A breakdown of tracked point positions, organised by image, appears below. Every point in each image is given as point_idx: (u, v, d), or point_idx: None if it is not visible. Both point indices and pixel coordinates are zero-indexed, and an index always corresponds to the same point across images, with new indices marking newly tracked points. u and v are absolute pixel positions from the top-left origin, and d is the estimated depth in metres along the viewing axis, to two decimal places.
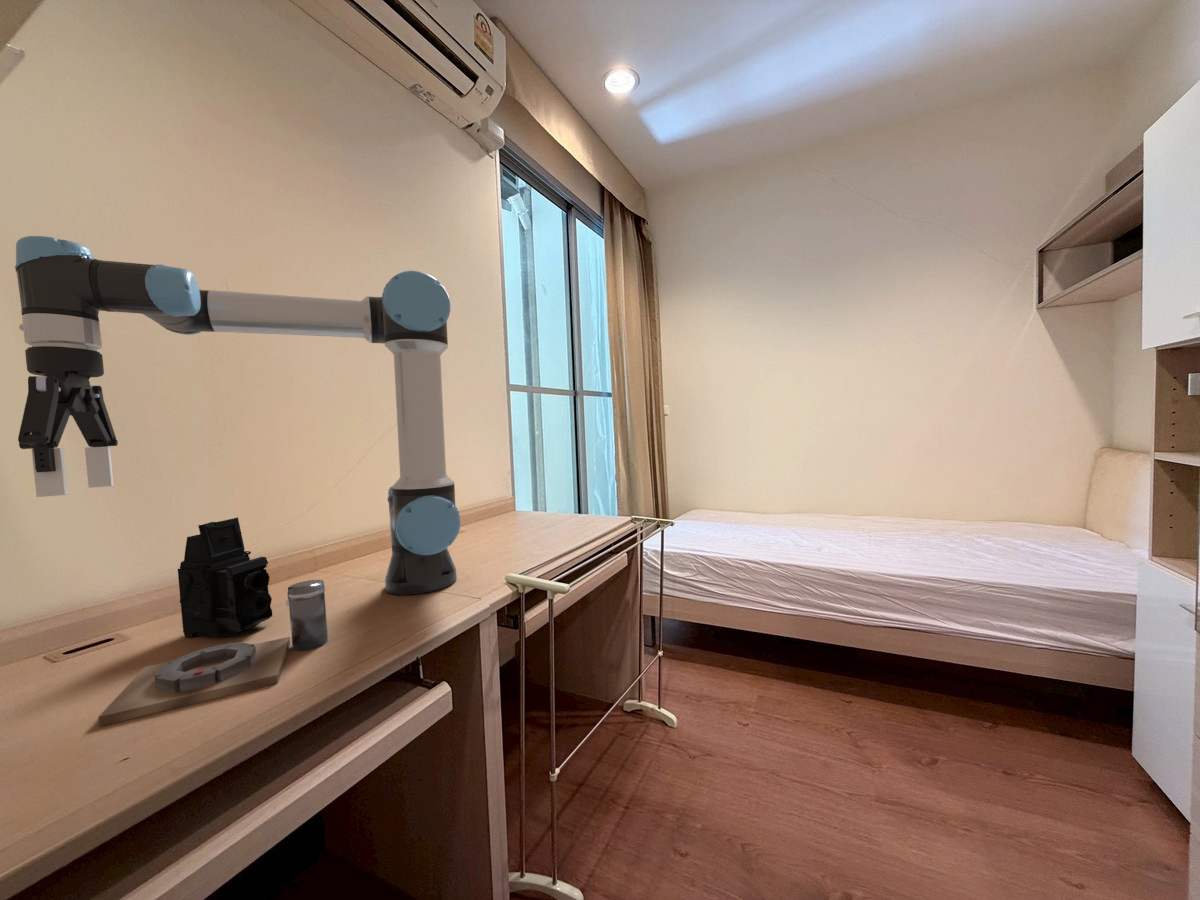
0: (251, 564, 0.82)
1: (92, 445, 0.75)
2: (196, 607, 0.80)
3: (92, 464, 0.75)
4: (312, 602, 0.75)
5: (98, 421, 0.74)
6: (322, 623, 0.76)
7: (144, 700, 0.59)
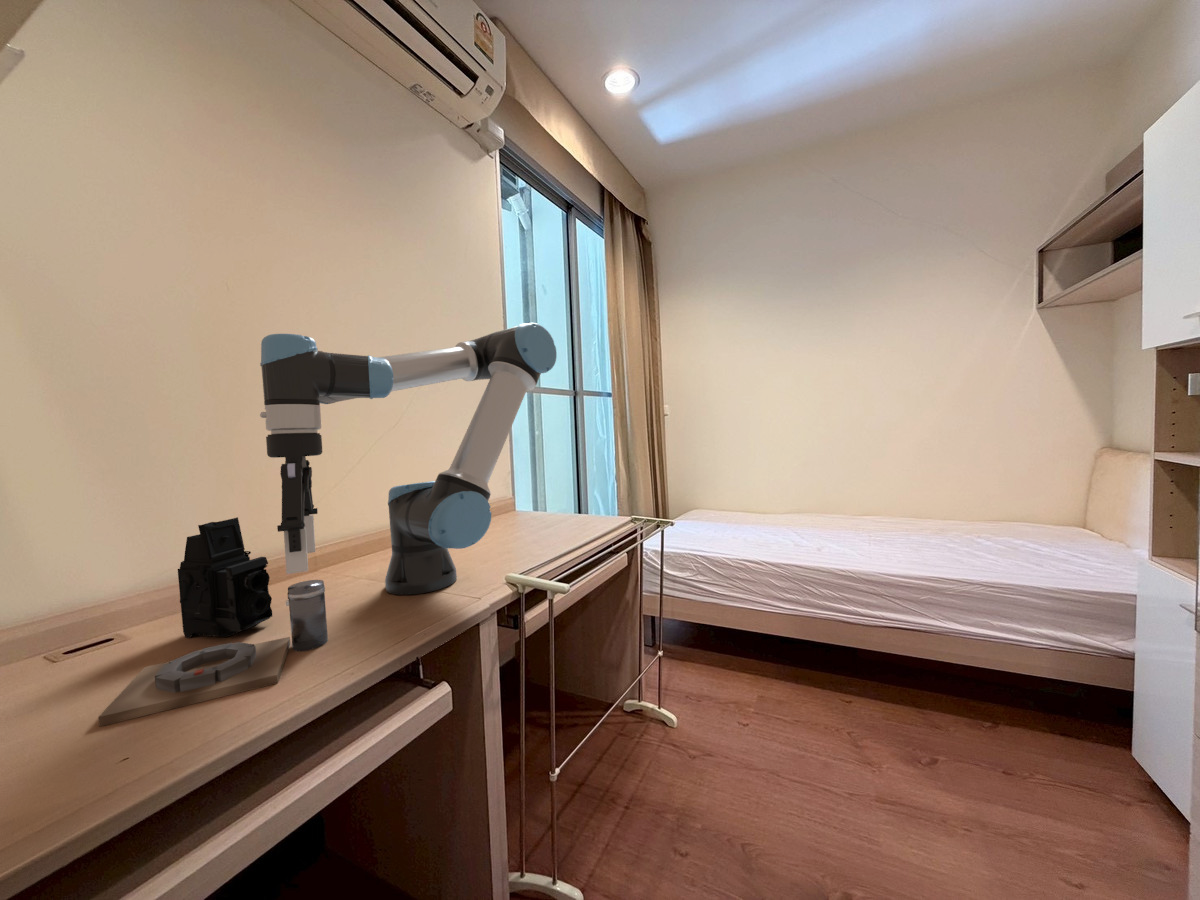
0: (251, 564, 0.82)
1: None
2: (196, 607, 0.80)
3: None
4: (312, 602, 0.75)
5: (309, 494, 0.80)
6: (322, 623, 0.76)
7: (144, 700, 0.59)
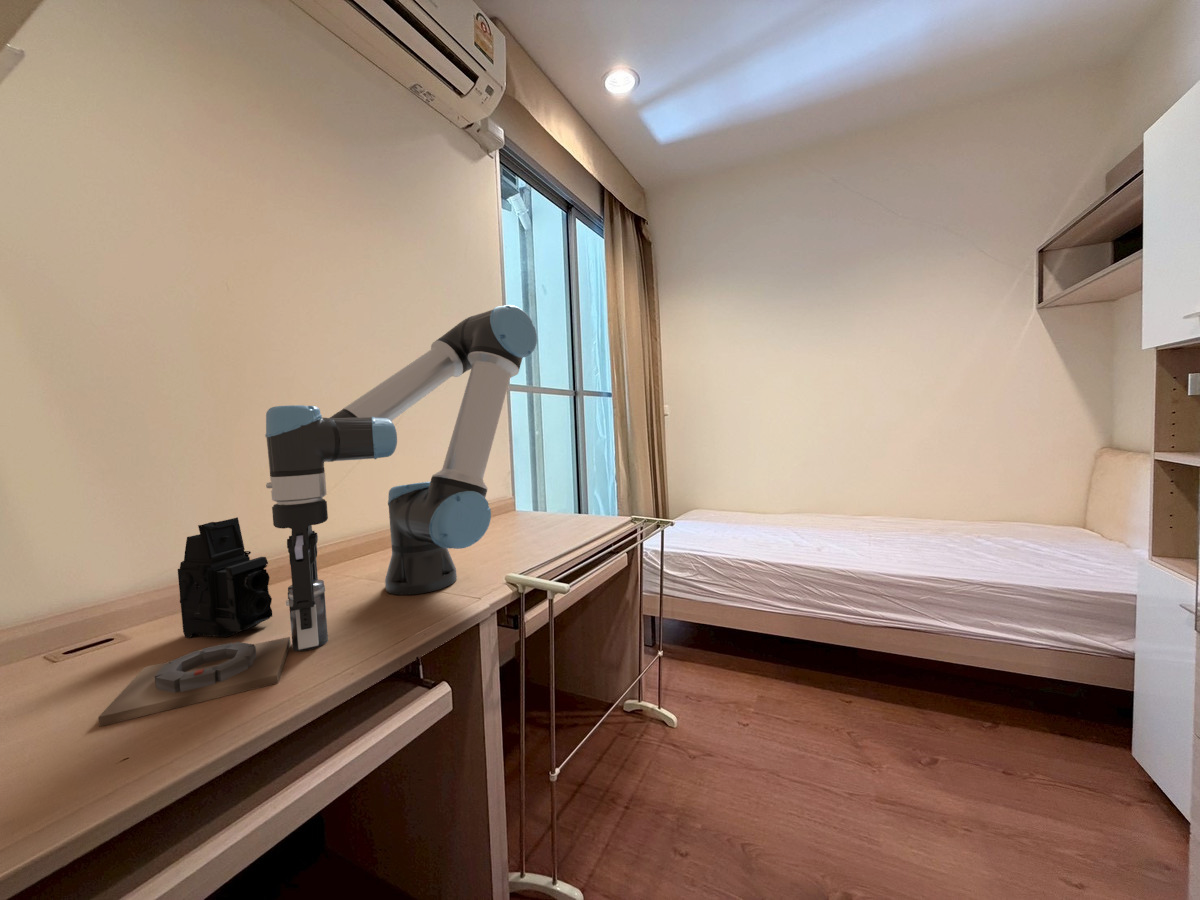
0: (251, 564, 0.82)
1: None
2: (196, 607, 0.80)
3: None
4: None
5: (314, 566, 0.79)
6: (322, 622, 0.76)
7: (144, 700, 0.59)
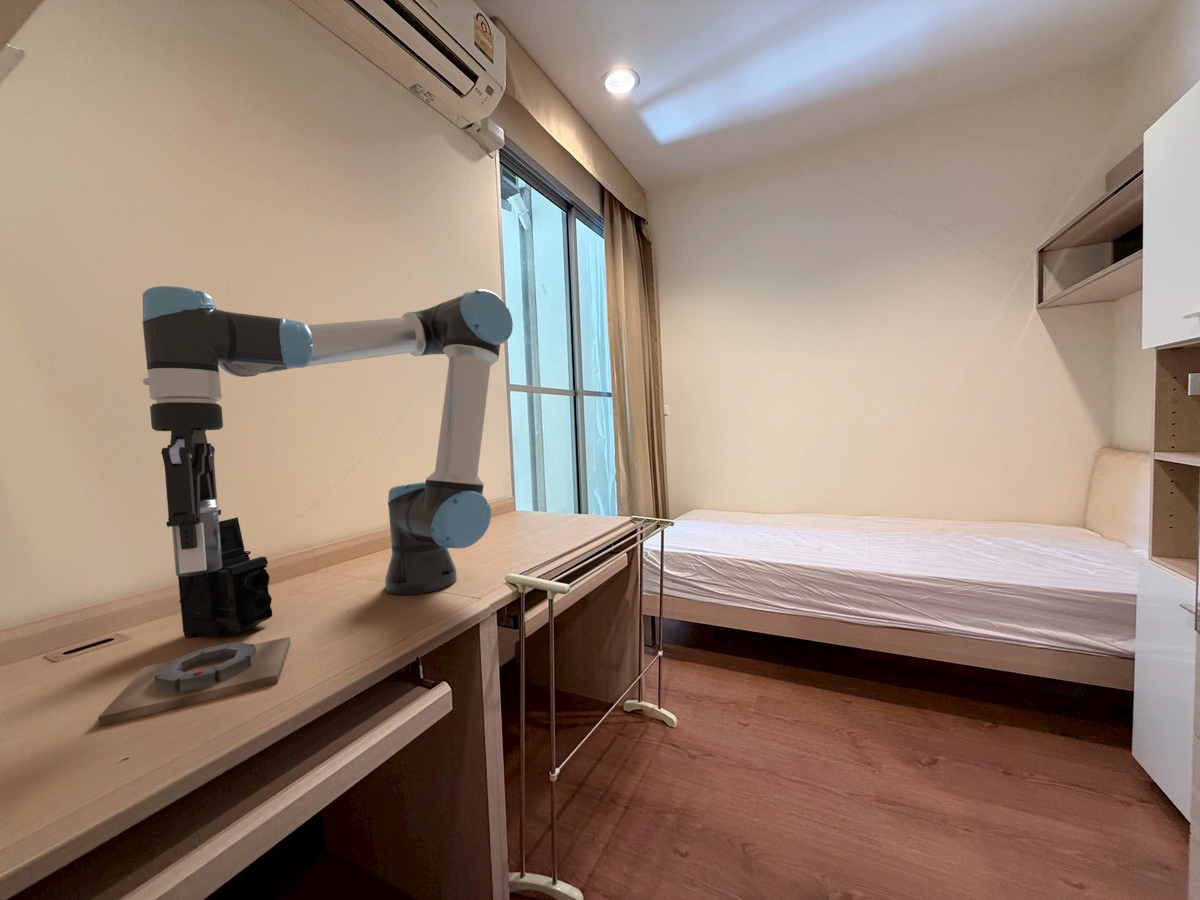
0: (251, 564, 0.82)
1: None
2: (196, 607, 0.80)
3: None
4: None
5: (208, 483, 0.68)
6: (213, 545, 0.65)
7: (144, 700, 0.59)
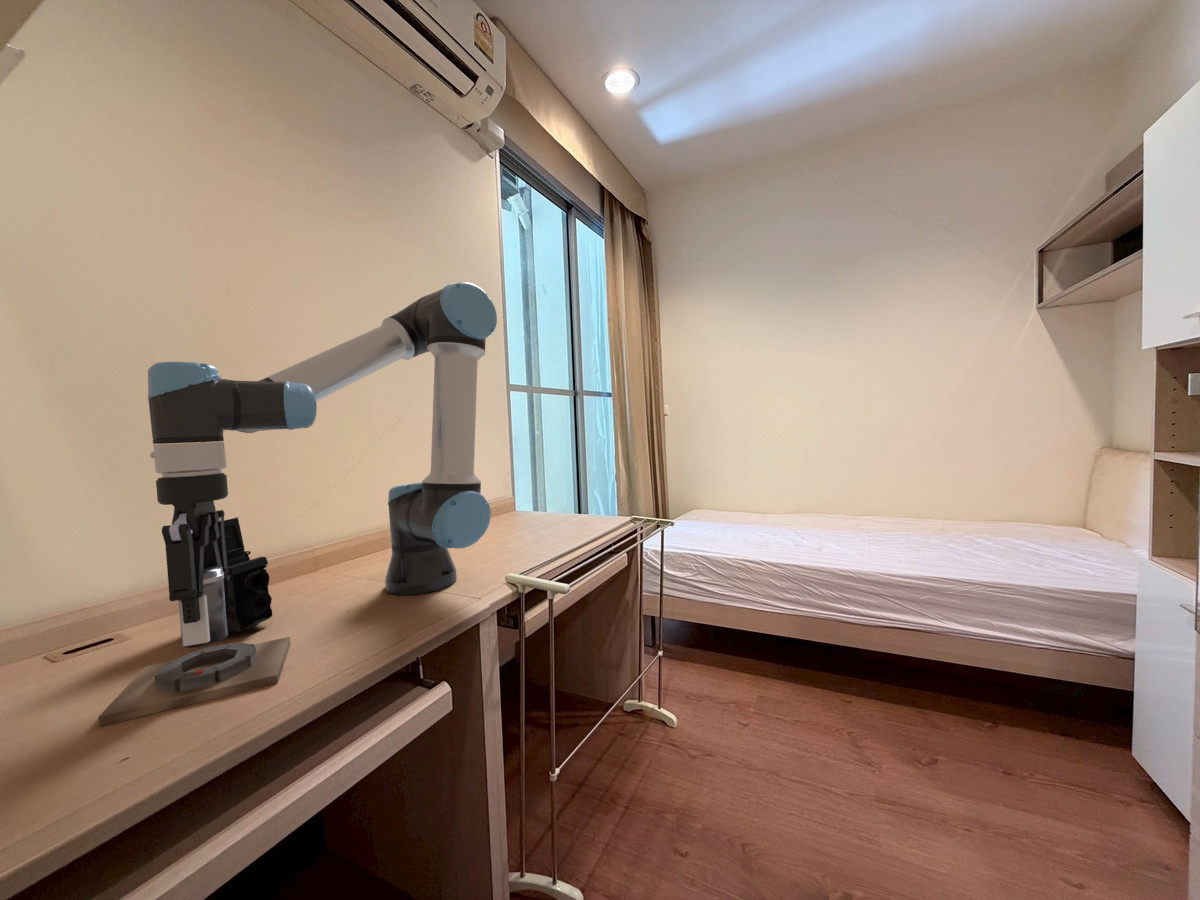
0: (251, 564, 0.82)
1: None
2: None
3: None
4: None
5: (216, 550, 0.68)
6: (217, 616, 0.66)
7: (144, 700, 0.59)
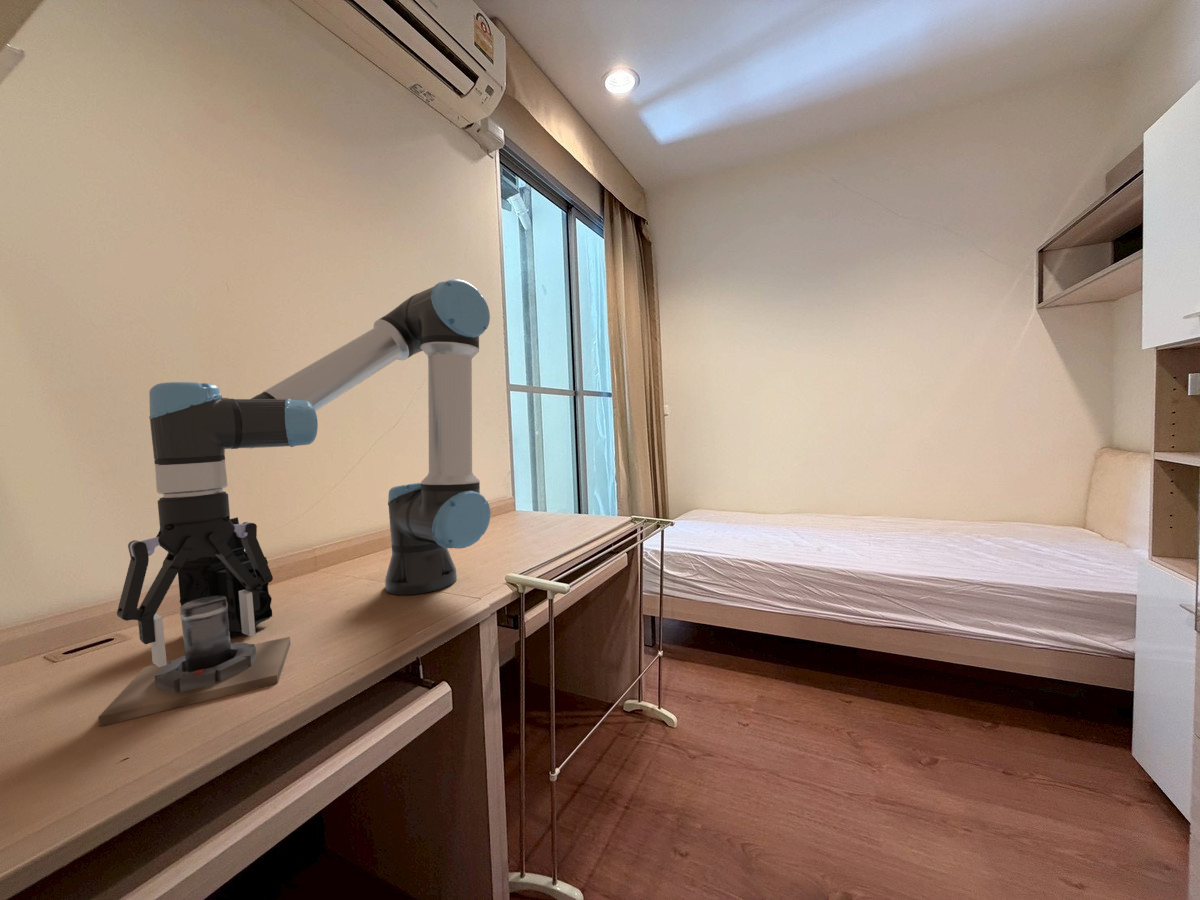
0: None
1: (245, 587, 0.71)
2: None
3: (242, 609, 0.71)
4: (187, 626, 0.64)
5: (234, 565, 0.68)
6: (201, 653, 0.64)
7: (144, 700, 0.59)
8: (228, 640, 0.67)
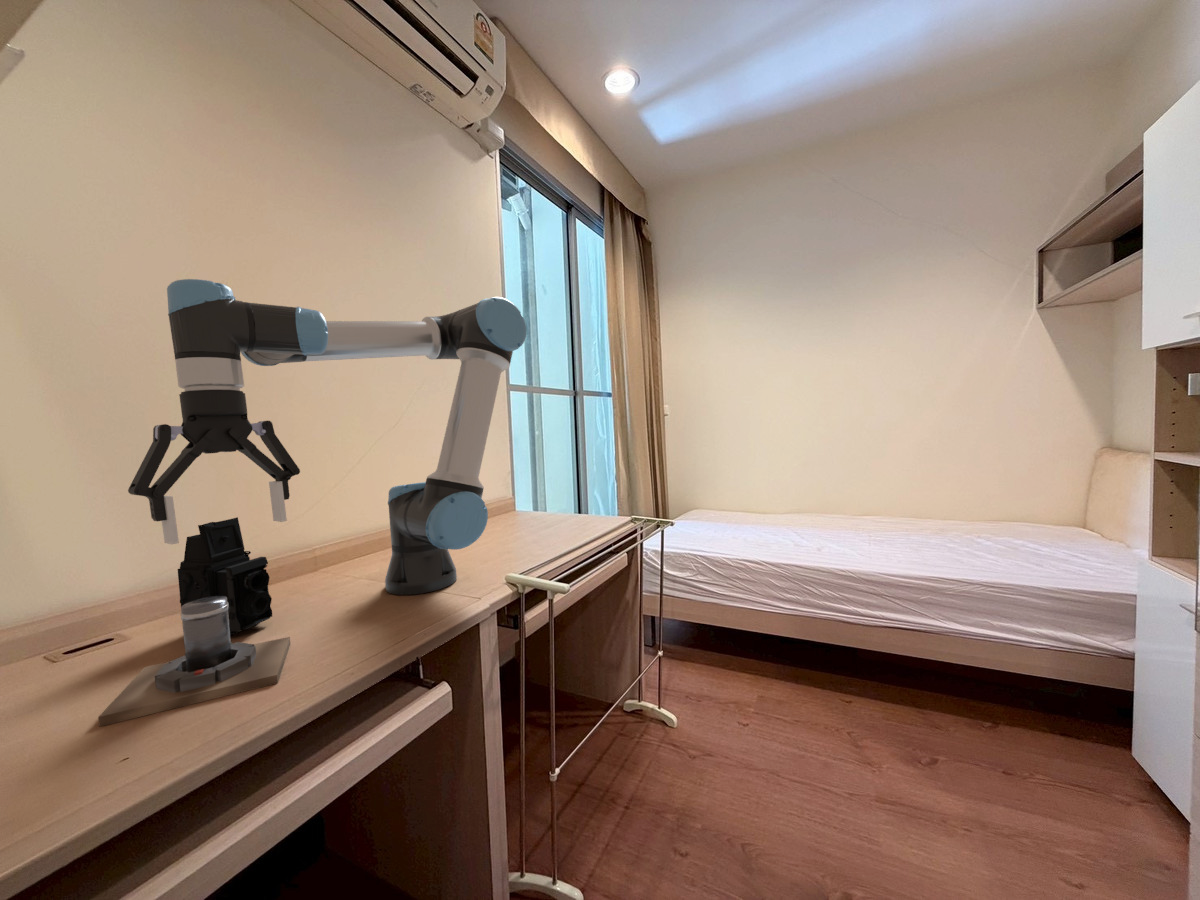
0: (251, 564, 0.82)
1: (275, 479, 0.76)
2: None
3: (272, 498, 0.75)
4: (187, 625, 0.64)
5: (260, 458, 0.72)
6: (202, 653, 0.64)
7: (144, 700, 0.59)
8: (228, 640, 0.67)
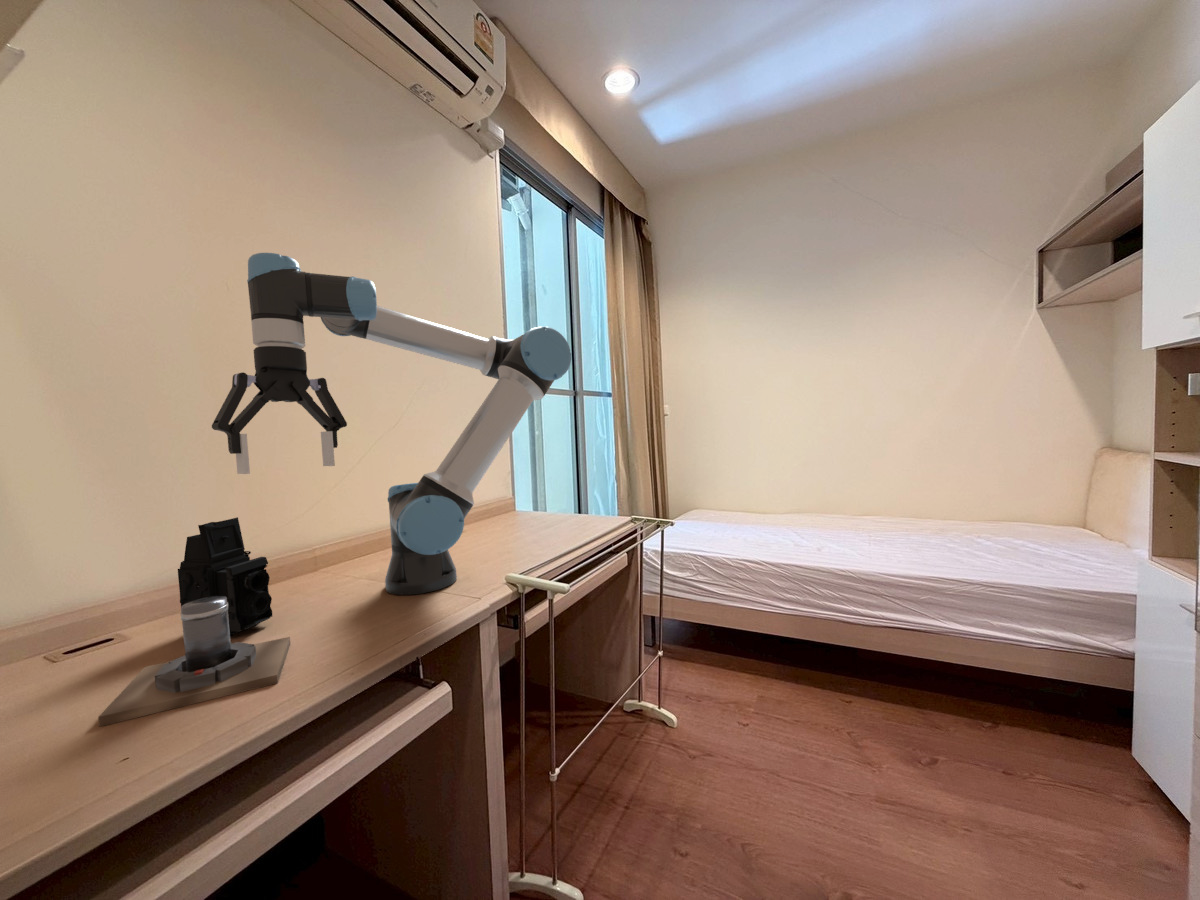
0: (251, 564, 0.82)
1: (326, 430, 0.88)
2: None
3: (323, 446, 0.87)
4: (187, 625, 0.64)
5: (316, 409, 0.84)
6: (202, 653, 0.64)
7: (144, 700, 0.59)
8: (228, 640, 0.67)
